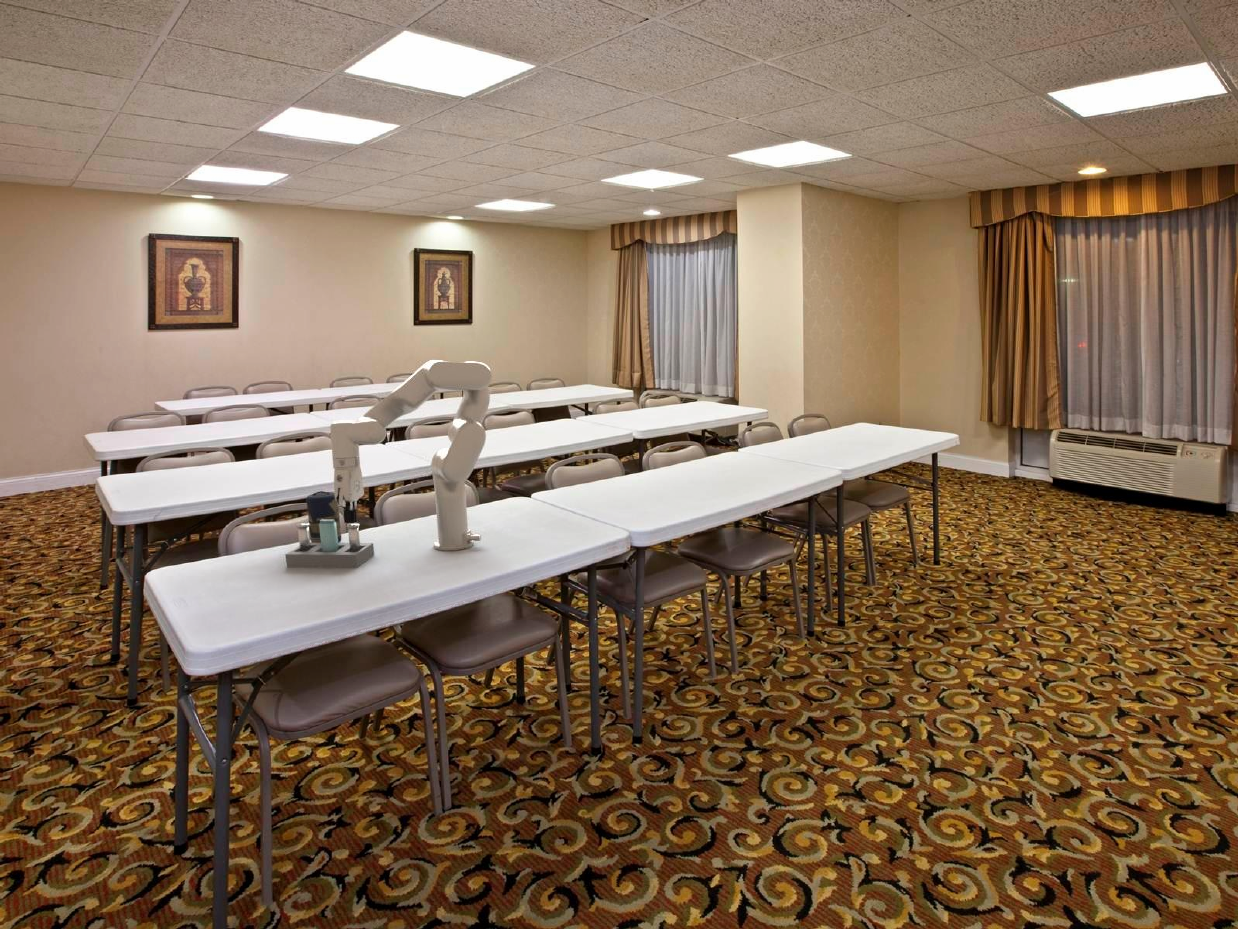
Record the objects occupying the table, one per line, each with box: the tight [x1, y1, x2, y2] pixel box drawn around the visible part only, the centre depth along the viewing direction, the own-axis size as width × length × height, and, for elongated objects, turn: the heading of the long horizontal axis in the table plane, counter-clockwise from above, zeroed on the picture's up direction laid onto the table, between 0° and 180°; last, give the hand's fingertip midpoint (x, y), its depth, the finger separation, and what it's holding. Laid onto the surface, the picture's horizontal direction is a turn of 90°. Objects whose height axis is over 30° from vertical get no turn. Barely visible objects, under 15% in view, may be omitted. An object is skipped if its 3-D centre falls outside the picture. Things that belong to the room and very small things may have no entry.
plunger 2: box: [346, 522, 361, 552], centre depth 225 cm, size 4×4×9 cm
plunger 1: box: [295, 522, 311, 552], centre depth 227 cm, size 4×4×9 cm
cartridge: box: [319, 520, 339, 552], centre depth 226 cm, size 5×5×13 cm
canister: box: [305, 490, 343, 543], centre depth 243 cm, size 10×10×18 cm
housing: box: [285, 542, 375, 569], centre depth 227 cm, size 22×12×4 cm, turn 84°
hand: (350, 522), depth 224 cm, fingers closed
